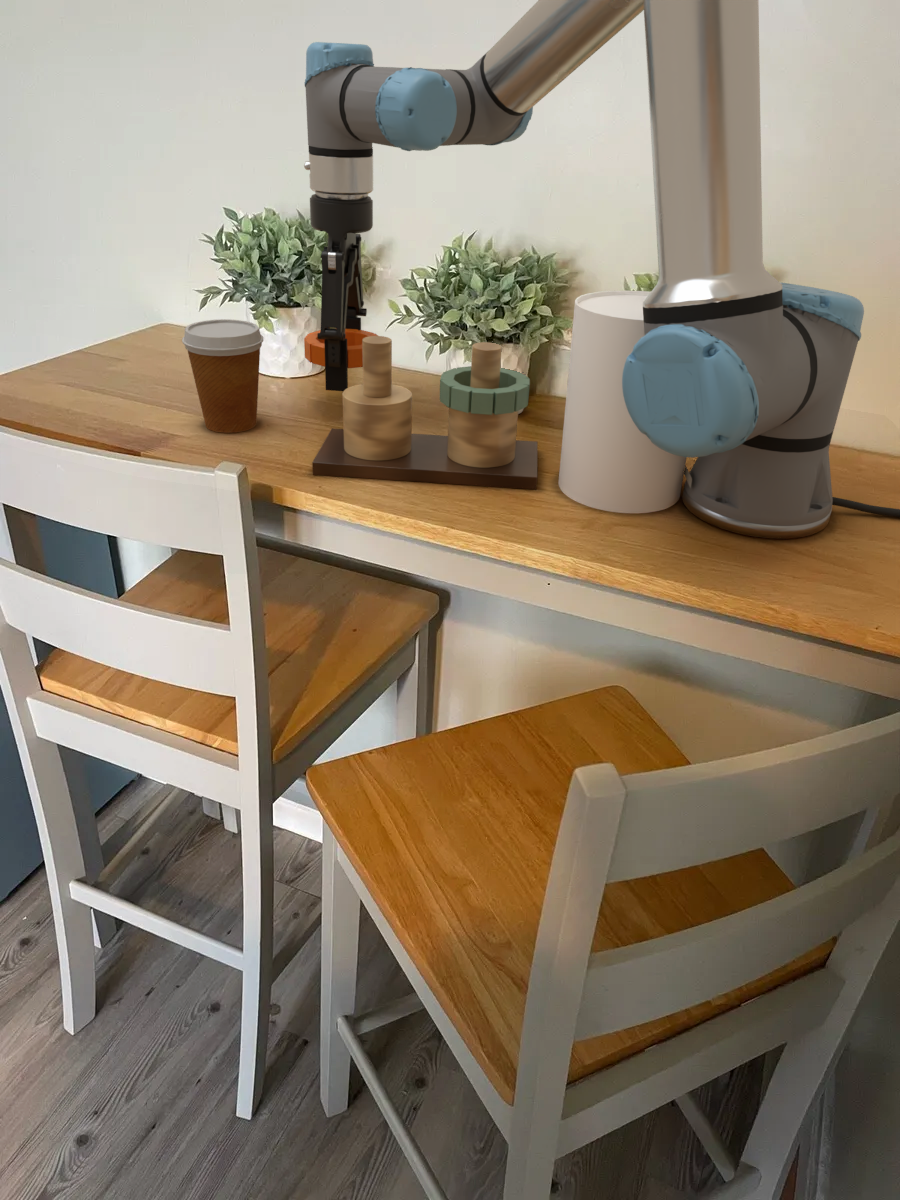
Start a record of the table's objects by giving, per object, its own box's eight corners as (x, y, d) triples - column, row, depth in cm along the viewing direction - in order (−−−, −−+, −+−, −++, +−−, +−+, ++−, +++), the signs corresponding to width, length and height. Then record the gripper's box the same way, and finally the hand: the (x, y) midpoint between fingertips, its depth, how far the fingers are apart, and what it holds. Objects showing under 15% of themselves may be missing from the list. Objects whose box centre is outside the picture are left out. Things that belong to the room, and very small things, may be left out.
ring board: (536, 453, 108) (546, 336, 101) (536, 489, 99) (547, 364, 92) (332, 439, 110) (328, 323, 103) (312, 474, 100) (306, 349, 93)
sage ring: (528, 389, 104) (530, 368, 103) (527, 417, 96) (529, 395, 94) (444, 384, 104) (444, 363, 103) (435, 411, 96) (436, 389, 95)
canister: (541, 498, 98) (556, 310, 88) (579, 457, 108) (597, 285, 98) (664, 523, 93) (695, 327, 83) (691, 478, 104) (722, 299, 93)
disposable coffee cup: (227, 443, 107) (217, 343, 101) (176, 425, 112) (163, 328, 106) (285, 423, 114) (279, 328, 108) (234, 406, 119) (226, 314, 113)
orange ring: (386, 349, 121) (386, 331, 120) (375, 370, 113) (375, 351, 112) (314, 344, 122) (313, 326, 121) (298, 365, 113) (297, 346, 112)
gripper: (328, 181, 117) (332, 351, 129) (288, 205, 98) (297, 403, 109) (385, 184, 117) (384, 355, 128) (356, 209, 97) (358, 407, 109)
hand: (344, 377), depth 119 cm, fingers closed on orange ring, 10 cm apart
